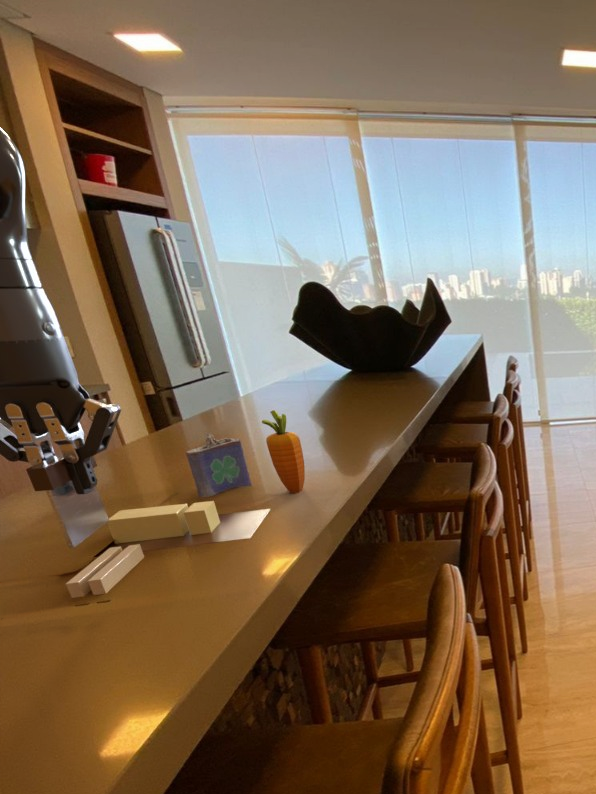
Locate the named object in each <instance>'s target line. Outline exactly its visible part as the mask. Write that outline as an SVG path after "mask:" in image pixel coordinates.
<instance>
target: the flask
mask: <svg viewBox="0 0 596 794" xmlns="http://www.w3.org/2000/svg"><path fill="white" fill-rule="evenodd" d="M201 438H202V439H205V442H204V444H206V445H203V446H199V447H197V448H196V447H195V448H193V449H190V450H188V451H186V452H185V455H186V458H187V460H188V464H189V467H190V471H191V474H192V478H193V480H194V483H195V487H196V490H197V494H198V498H209V497H213V496H215V495H218V494H220V493H222V492H225V491H227V490H230V489H233V488H234V489H235V488H242V487H243V488H245V487H252V486H253V485H252V481H251V478H250V473H249V469H248V464H247V461H246V458H245V453H244V449H243V447H242V446H243V445H242V441H241V440H240V439H239V438H221V439H215V436H214V435H213V434H210V433H207V434H205V435H203V436H201Z"/></svg>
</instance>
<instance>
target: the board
mask: <svg viewBox="0 0 596 794" xmlns="http://www.w3.org/2000/svg"><path fill="white" fill-rule="evenodd" d="M270 511H271V508H266V509H257V510H248V511H238V512H227V513H221V514H220V513H218V516H219V520H220V524H219V525H218V526H217V527H216V528H215V529H214V530H213V531H212V533H205V534H196V535H191V534H190V531H188V532H187V533H186V534H185V535H184V536H179V537H170V538H162V539H153V540H144V541H136V542H127V543H119V544H115V543H114V540H113V541H111V542H110V543H109V544H108V545H106V546H105V547H104V548H102V549H101V550H100V551H99V552H98V553H96V554H95V555H94V556H93V557H92V558H93V559H94V558H98V557H99V556H100V555H102V554H103V553H104V552H105V551H106V550H108V549H109V548H112V547H121V548H122V551H123V550H124V549H125V548H127V547H128V546H129V545H137V544H140V546H141V549H142V552H143V553H144V552H150V551H158V550H159V551H160V550H167V549H175V548H176V549H177V548H185V547H192V546H199V545H201V546H202V545H208V544H209V545H210V544H216V543H225V542H233V541H241V540H249V539H251V538H252V536H253V535H254V534H255V532H256V530H257V529H258V528H259V526H260V525H261V524H262V522H263V521H264V519H265V518H266V516H267V515H268V514H269V512H270Z"/></svg>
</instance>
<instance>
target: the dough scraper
mask: <svg viewBox="0 0 596 794" xmlns="http://www.w3.org/2000/svg"><path fill="white" fill-rule="evenodd" d="M90 462H91V464H92V467H93V469H95V468H96V467H98V464H97V461H96V459H95V455H94V456H91V457H90ZM68 463H69V462H67V461H66V460H65V458H64V456H63V454H62V452H60V453H58V454H55V456H54V457H51V458H49V459H47V460H45V461H43V462H40V463H38V464H36V465H34V466H33V465H31V466H29V467H28V468H26V469H25V471H26V474H27V475H28V478H29V481H30V483H31V485H32V487H33V490H34V492H45V493H46V496H47V498H48V500H49V502H50V506H51V508H52V510H53V512H54V515H55V517H56V520H57V521H58V525H59V526H60V530H61V532H62V534H63V536H64V539H65V541H66V543H67V546H68V548H69V549H74V548H76V547H77V546H78V545H80V544H82V543H83V542H84V541H85V540H86V539H88V538H90V537H91V536H92V535H94V534H95V533H96V532H97V531H98V530H100V529H101V528H103V527H104V526H106V525H107V523H108V522H109V517H108V513H107V511H106V509H105V506H104V503H103V501H102V498H101V495H100V492H99V489H98V487H97V485H96V486H94V490H93V491H91V492H89V493H88V494H80V495H79V494H77V493H76V490H75V488H74V485H73V483H72V479H71V477H70V474H69V471H68V469H67V466H66V464H68Z"/></svg>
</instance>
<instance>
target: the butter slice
mask: <svg viewBox="0 0 596 794" xmlns="http://www.w3.org/2000/svg"><path fill="white" fill-rule="evenodd" d="M218 514H219V513H218V510H217V507H216V504H215V501H214V500H210V501H208V500H207V501H199V502H194V503H191V505H190V506H188V509H187V510H186V511H185V512H184V515H185V518H186V522H187V525H188V528H189V531H190V534H191V535H196V534H205V533H212V531H213V530H214V529H215V528H216V527H217V526H218V525H219V524H220V520H219V516H218Z"/></svg>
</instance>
